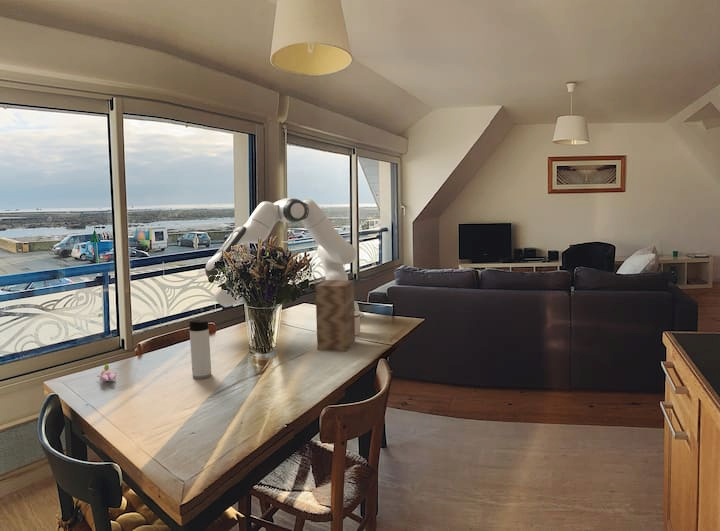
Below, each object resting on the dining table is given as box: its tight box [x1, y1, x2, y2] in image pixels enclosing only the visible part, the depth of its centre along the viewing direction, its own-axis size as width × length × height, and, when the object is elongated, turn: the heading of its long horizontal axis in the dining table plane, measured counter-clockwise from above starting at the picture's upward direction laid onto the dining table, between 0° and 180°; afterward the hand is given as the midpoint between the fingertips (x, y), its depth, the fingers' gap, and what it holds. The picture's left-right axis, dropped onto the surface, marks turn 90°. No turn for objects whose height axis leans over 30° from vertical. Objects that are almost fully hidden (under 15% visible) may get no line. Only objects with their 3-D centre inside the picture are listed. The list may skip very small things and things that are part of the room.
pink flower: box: [96, 363, 117, 382], centre depth 174 cm, size 6×6×15 cm
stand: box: [315, 279, 356, 352], centre depth 209 cm, size 12×14×26 cm
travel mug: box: [188, 319, 212, 380], centre depth 176 cm, size 6×7×20 cm
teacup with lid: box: [354, 310, 361, 336], centre depth 228 cm, size 12×9×12 cm
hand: (274, 267), depth 212 cm, fingers closed on t bar, 3 cm apart
